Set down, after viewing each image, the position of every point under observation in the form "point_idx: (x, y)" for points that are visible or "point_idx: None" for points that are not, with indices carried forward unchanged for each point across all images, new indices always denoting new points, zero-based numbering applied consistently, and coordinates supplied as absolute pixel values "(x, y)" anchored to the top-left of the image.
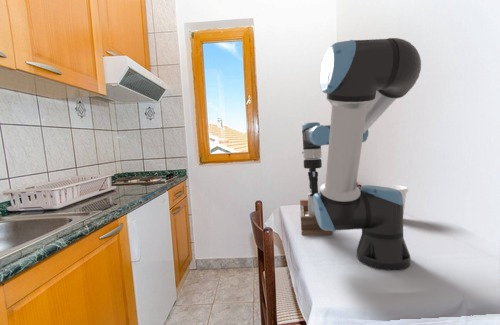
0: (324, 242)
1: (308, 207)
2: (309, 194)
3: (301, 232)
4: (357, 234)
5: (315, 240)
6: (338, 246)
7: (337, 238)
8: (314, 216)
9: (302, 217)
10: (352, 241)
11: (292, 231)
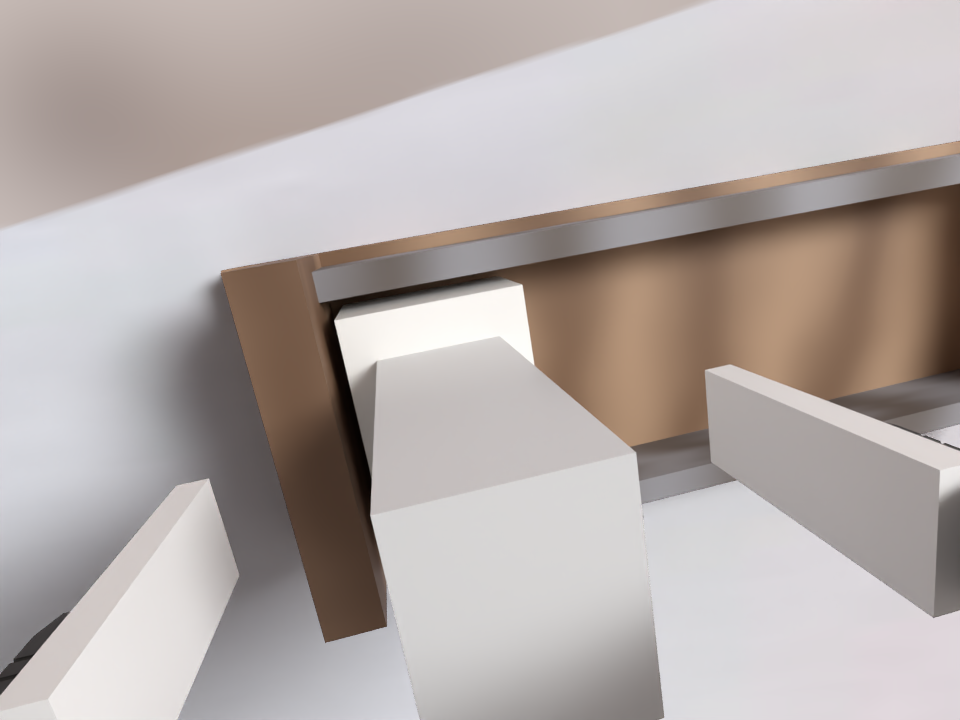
0: (90, 509)
1: (443, 382)
2: (449, 537)
3: (224, 270)
4: (379, 716)
5: (113, 427)
6: (38, 626)
7: (234, 594)
8: (309, 457)
9: (230, 298)
10: (200, 703)
11: (310, 150)
